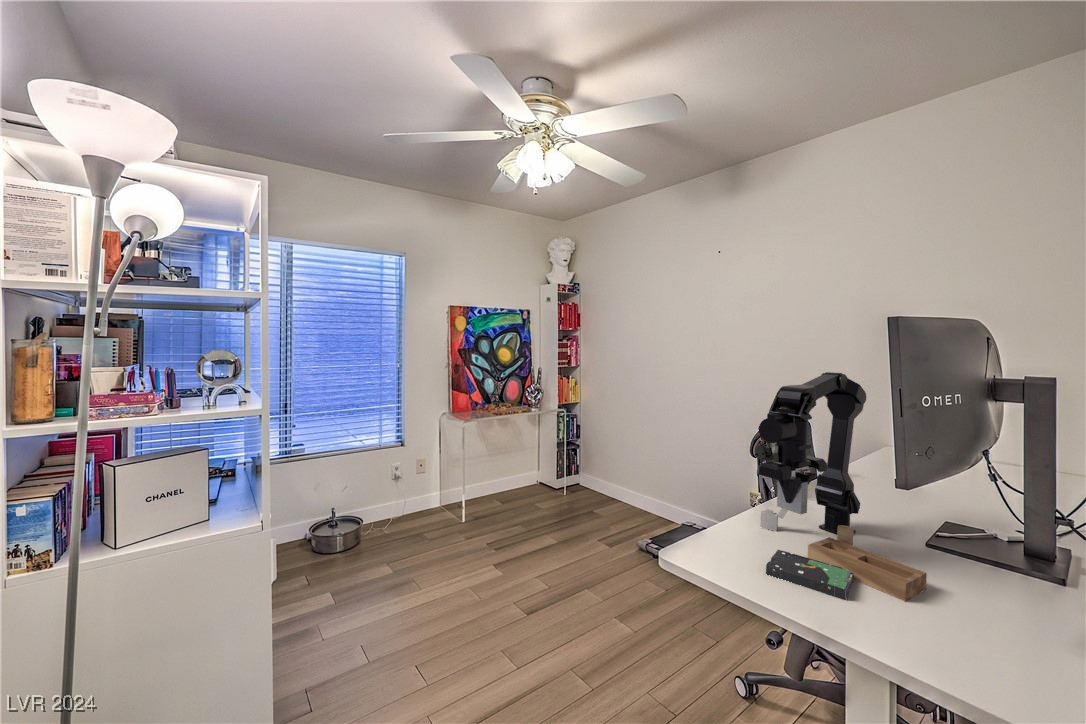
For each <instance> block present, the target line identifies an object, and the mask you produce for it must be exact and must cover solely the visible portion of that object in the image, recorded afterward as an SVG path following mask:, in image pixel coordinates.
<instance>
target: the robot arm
mask: <svg viewBox="0 0 1086 724" xmlns="http://www.w3.org/2000/svg"><path fill="white" fill-rule="evenodd" d="M775 394H776V395H775V397H774V399H773V401H772V403H771V405H770V408H769V410H768V413H767V414H766V418H763V420H762V421H761V422H760V423H759V425H758V434H759V436H760V438H762V440H763V441H765V442H766V443H769V444H775V446H772V447H767V446H766V444H760V445H755V448H754V456H755V457H756V458H757V460H758V459H759V461H760V463H759V465H758V466H757V467H758V468H757V475H759V476H763V477H766V478H769V479H773V480H775V481H777V482H778V481H779V483H780V486H781V488H782V491H783V494H784V497H785V500H786V502H787V503H791V502H792V500H793V498H794V495H795V492H796V489H797V486H798V484H799V481H800V480H803V481H807V482H808V486H809V485H810V484H811V482H812V480H813V479H814V478H815V477H816V476H817V475H816V473H814V472H813V473H812V472H811V470H810V468H812V469H816V470H817V471H818V472H819V474H818V476H817V477H816V485H815V486H814V487H815V488H814V493H815V498H816V505H819V506H823V507H825V508H824V522H823V524H819V525H818V528H819V529H821V530H824V531H827V532H830V533H833V534H835V535H837V530H838V525H844V526H849V527H851V515H852V514H856V515H857V514H859V512H860V508H861V502H860V500H859V499H858V497H857V495H856V493H855V491H854V490H855V484H854V481H853V479H852V478H851V476H850V474H849V465H850V457H851V451H852V450H851V449H852V440H853V433H854V431H853V430H854V423H855V419H856V418H857V417H858V416H859V415H860V414H861V413H862V412H863V410H864V406H865V405H864V404H865V403H866V402H867V392H866V390H864V388H863V387H862V386H861V384H860V383H857V382H855V381H854V380H852V379H850V378H849V377H848V376H847V375H846V373H843V372H833V371H832V372H831V371H830V372H828V371H827V372H823V373H821V374H820V375H819V376H817V377H815V378H812V379H811V380H809V381H806V382H804V383H802V384H789V385H783V386H781V387H780V388H779V389H778V390H777V393H775ZM823 397H825V399H826V400H827V401H826V402H827V403H826V406H827V408H828V410H829V412H830V414H831V416H832V421H831V430H830V438H829V439H830V440H829V445H828V446H829V447H828V455H827V461H826V460H825V459H824V458H820V457H816V456H812V455H808V450H809V449H812V443H808V441H809V440H808V439H809V437H808V436H809V435H808V434H809V420H812V419H813V417H812V415H811V414H810V412H811V411H812V410H813V409H814V408H815V406H817V400H819V399H820V398H823ZM765 461H767V462H765ZM853 529H854V528H853ZM854 533H856V529H854V532H853V534H854Z"/></svg>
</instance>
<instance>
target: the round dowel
mask: <svg viewBox="0 0 1086 724" xmlns="http://www.w3.org/2000/svg"><path fill="white" fill-rule="evenodd" d="M853 532H854V528H853V527H851V526H850V527H849V526H844V525H838V530H837V534H836V536H837V537H836V540H839V541H841V542H844V543H847V544H849V545H852V546H854V533H855V532H854V533H853Z"/></svg>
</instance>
